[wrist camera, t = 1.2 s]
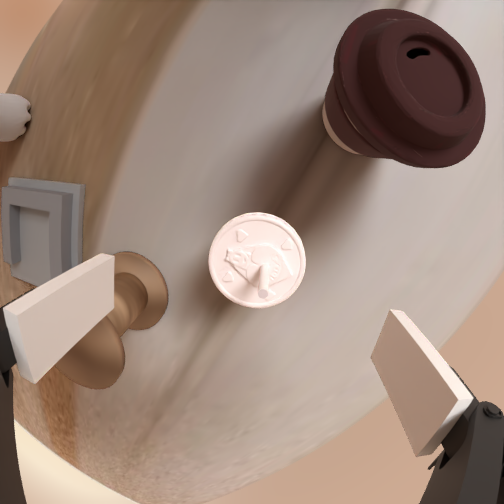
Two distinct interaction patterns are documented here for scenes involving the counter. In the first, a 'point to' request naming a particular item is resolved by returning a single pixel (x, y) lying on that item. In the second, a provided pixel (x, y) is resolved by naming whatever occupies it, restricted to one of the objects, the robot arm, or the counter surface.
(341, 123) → the coffee cup
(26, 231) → the notch board
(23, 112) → the bottle
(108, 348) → the bobbin
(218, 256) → the smoothie
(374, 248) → the counter surface
